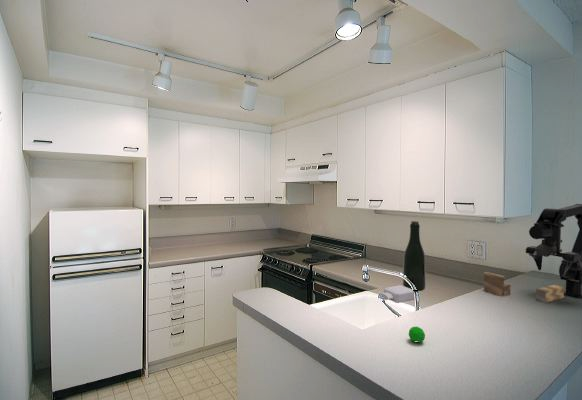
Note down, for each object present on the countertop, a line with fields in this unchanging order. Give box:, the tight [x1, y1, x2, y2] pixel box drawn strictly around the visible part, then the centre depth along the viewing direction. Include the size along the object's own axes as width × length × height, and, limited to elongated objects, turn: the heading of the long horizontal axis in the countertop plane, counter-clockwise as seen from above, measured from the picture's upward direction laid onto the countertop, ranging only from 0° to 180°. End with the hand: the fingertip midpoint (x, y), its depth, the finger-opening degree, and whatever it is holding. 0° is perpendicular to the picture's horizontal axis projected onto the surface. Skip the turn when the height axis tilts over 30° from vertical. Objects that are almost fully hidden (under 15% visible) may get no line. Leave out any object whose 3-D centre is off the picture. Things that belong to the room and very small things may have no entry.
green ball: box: [408, 326, 426, 342], centre depth 107 cm, size 5×5×5 cm
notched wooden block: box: [483, 271, 511, 297], centre depth 153 cm, size 6×9×9 cm
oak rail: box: [535, 284, 565, 304], centre depth 144 cm, size 14×4×5 cm, turn 114°
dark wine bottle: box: [402, 220, 427, 292], centre depth 160 cm, size 10×10×33 cm
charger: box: [378, 284, 415, 304], centre depth 146 cm, size 5×9×15 cm
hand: (551, 272), depth 144 cm, fingers open, 9 cm apart
